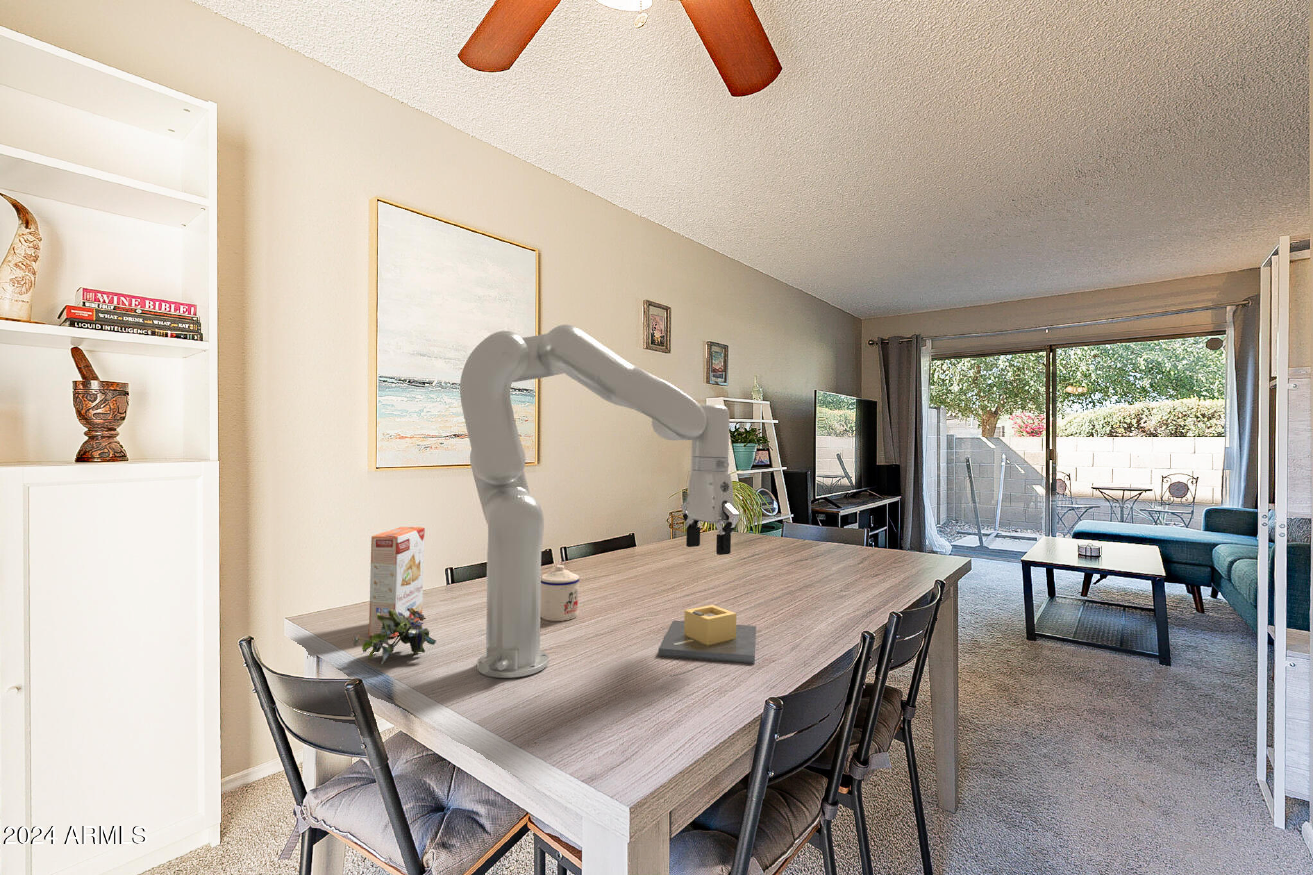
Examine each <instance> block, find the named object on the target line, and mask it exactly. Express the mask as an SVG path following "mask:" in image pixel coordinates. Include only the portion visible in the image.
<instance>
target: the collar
mask: <svg viewBox="0 0 1313 875" xmlns="http://www.w3.org/2000/svg"><path fill="white" fill-rule="evenodd" d="M708 613H714V614H716V615H715V616H710V617H708V616H705V615H704V614H708ZM684 621H685V623H684V635H686V636H688V637H691V638H693V639H695V640H697V641H699V642H702V643H704V644H706V645H710V644H715V643H719V642H723V641H727V640H731V639H735V638H736V625H737V613H736V612H734V611H730V610H729V609H725V608H722V607H720V606H717V605H715V604H710V605H704V606H700V607H693V608H689V609H685V610H684Z"/></svg>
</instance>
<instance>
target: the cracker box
mask: <svg viewBox="0 0 1313 875" xmlns="http://www.w3.org/2000/svg"><path fill="white" fill-rule="evenodd" d="M425 529H426V528H425V527H423V526H422V527H420V526H400V527H398V528H393V529H390V530H388V531H384V532H381V533H377V534H374V535H372V536H371V541H370V542H371V543H370V576H369V577H370V579H369V580H370V581H369V585H370V586H369V611H368V612H369V613H368V614H369V617H368V637H369V636H373V635H375V634H378V633H379V634H380V633H381V629H382V626H383V624H382V621H380V620H378V619H377V614H378V613H379V614H380V615H381V616H385V617H389V613H388V611H389V610H391V609H392V610H394V611H396V612H397V613H398V612H399V613H402V614H403V615H405V616H406V618H407V617H409V618H413V617H414V616H413V615H412V614H411V613H410V612H409V611H408V610H407V609H408V608H410V609H411V608H414V609H415V610H416V611H419V612H420V613H421V614H423V601H424V600H423V598H424V561H425V556H424V555H425V532H426V531H425ZM416 620H417V621H418V620H419V618H416V619H415V620H414V621H416ZM419 621H420V620H419ZM419 621H418V622H419ZM383 634H385V633H383ZM383 634H382V635H383ZM398 634H399V633H398V632H396V633H394V634H391V635H390V636H389V637H395V636H396V637H397V635H398ZM389 637H388V638H389ZM396 637H395V638H396Z"/></svg>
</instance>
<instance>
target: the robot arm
mask: <svg viewBox="0 0 1313 875" xmlns="http://www.w3.org/2000/svg"><path fill="white" fill-rule="evenodd" d="M563 374H564V375H566V376H568V377H569V378H571V379H572V380H573V381H575V382H577V383H579V384H580V385H582V386H583V387H585V388H586V389H588V390H590V391H591V393H593V394H595V395H597V396H598V397H600V399H603V400H604V401H606V402H609V403H611V404H613V405H616V406H619V407H623V408H627V409H631V410H634V411H636V412H638V413H640V414H643V415H645V416H647V417H649V418H650V419H651V426H652V429H653V431H654V432H655V434H656V435H657V436H659V438H662V439H664V440H668V441H691V460H690V463H691V464H690V469H691V470H690V473H689V474H690V475H689V480H688V487H687V488H688V489H687V497H686V498H687V499H686V501H685V502H683V503H682V504H681V506H680V508H681V512H682V519H683V521H684V526H685V528H686V541H685V543H686V544H685V545H686V547H688V548H692V547H693V548H694V547H699V546H701V526H700V523H701V522H702V523H707V524H714V525H715V527H716V529H717V532H718V534H716V544H715V545H716V546H715V547H716V550H715V551H716V555H719V556H724V555H730V554H731V553H732V551H731V549H732V548H731V547H732V546H731V545H732V541H731V540H732V534H734V530H735V528H737V526H738V525H737V524H738V521H739V518H740V513H739V512H738V511H737V510H736V509H735V508H734V507H735V506H734V504H735V502H734V489H733V480H732V477H731V473H729V466H730V462H729V456H730V454H729V452H730V451H729V450H730V448H729V447H730V443H729V442H730V410H729V409H728V408H727V407H726V406H724V405H720V404H702V405H700V404H699V403H698V402H697V401H696V400H694V399H693V398H692V397H690V396H689V395H688V394H686V393H685V392H683V391H682V390H680V389H679V388H677V387H676V386H674V385H673V384H671V383H669V382H668V381H666V380H664V379H662V378H660V377H658V376H656V375H654V374H652V373H649V372H648V371H646V370H643V369H642V368H640V367H638V366H636V365H634V364H632V363H630V362H628V361H627V360H626V359H623V358H622V357H621V356H619V355H618V354H616V353H615V352H614V351H612V350H611V349H610V348H608V347H606V346H604V345H603V344H602V343H600V342H599V341H598V340H596V339H595V338H594V337H592V336H590V335H589V334H587V333H586V332H584V331H583V330H582V329H580V328H578V327H576V326H574V325H572V324H561V325H557V326H555V327H554V328H552V329H551V330H549V331H548V332H546V333H543V334H539V335H532V336H525V337H522V336H520V335H518V334H517V333H515V332H514V331H509V330H500V331H496V332H494V333H493V332H492V333H491V334H490V335H488V336H486V338H484V339H483V340H482V341H481V342H480V343H478V344H477V345H476V346H475V347H474V349H473V350H472V351H471V353H470V354H469V356H468V357H467V358H466V361H465V363H464V366H463V369H462V372H461V376H460V383H459V397H460V398H459V399H460V405H461V410H462V413H463V417H464V423H465V427H466V431H467V435H468V440H469V444H470V449H471V450H470V453H469V454H470V455H469V461H470V462H469V464H470V467H471V470H472V471H471V472H472V475H473V480H474V483H475V486H476V490H477V494H478V498H479V501H480V506H481V509H482V513H483V517H484V520H485V522H486V524H487V556H486V558H487V559H486V620H485V621H486V622H485V623H486V626H485V629H486V632H485V633H486V634H485V640H486V641H485V642H486V643H485V653H484V654H482V655H481V656H480V657H479V658H478V659H477V661H476V669H477V671H478V672H479V673H480V674H482V675H484V676H487V677H492V678H497V679H498V678H501V679H513V678H521V677H526V676H531V675H533V674H536V673H539V672H540V671H542V670H544V669H545V668H546V667H547V666H548V664H549V654H547V653H546V652H545V651H544V650H542V649H541V616H540V605H541V576H542V572H541V571H542V569H541V568H542V550H543V549H542V548H543V547H542V546H543V539H544V538H543V537H544V529H545V528H544V527H545V523H544V520H545V519H544V513H543V509H542V507H541V504H540V503H539V501H538V500H537V499H536V498H535V497H534V495H532V494H531V493H530V489H529V485H528V481H527V478H526V474H525V467H526V452H525V451H524V450H525V449H524V447H523V444H522V441H521V438H520V434H519V430H518V425H517V422H516V419H515V415H514V409H513V405H512V401H511V400H512V398H511V387H512V385H513V383H518V382H523V381H530V380H537V379H544V378H549V377H552V376H558V375H563ZM723 525H724V526H723Z"/></svg>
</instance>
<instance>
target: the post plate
mask: <svg viewBox="0 0 1313 875" xmlns="http://www.w3.org/2000/svg"><path fill="white" fill-rule="evenodd" d="M704 615H705V616H708V617H710V616H715V615H716V614H714V613H708V614H704ZM684 623H685V620H672V622H671V623H670V626H669V628H668V630H667V631H666V633H665V635H664V637H663V639H662V641H661V643H660V646H659V647H658V657H662V658H664V657H665V658H676V659H686V660H687V659H689V660H700V661H701V660H702V661H703V660H704V661H715V662H726V663H729V662H730V663H740V664H752V665H754V664H755V663H756V662H755V661H756V660H755V659H756V644H757V643H756V642H757V625H746V624H736V638H735V639H731V640H727V641H723V642H719V643H715V644H710V645H706V644H704V643H702V642H699V641H697V640H695V639H693V638H691V637H688V636H686V635H684Z"/></svg>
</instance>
